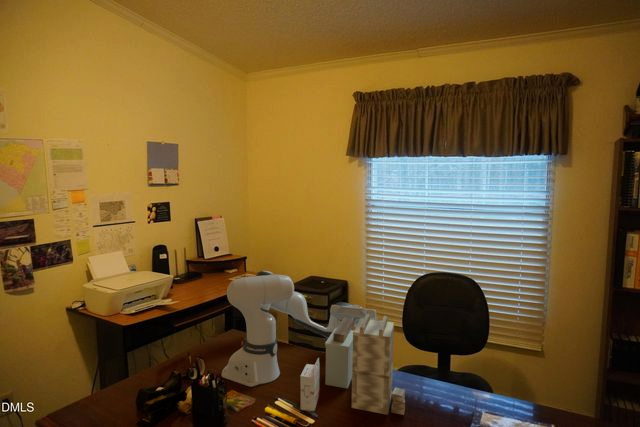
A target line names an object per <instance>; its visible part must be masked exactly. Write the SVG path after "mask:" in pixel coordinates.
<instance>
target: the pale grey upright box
mask: <svg viewBox="0 0 640 427" xmlns="http://www.w3.org/2000/svg"><path fill="white" fill-rule="evenodd" d="M336 329H337V328H335V329H334V331H333V332H332V334H331V335H330V337H329V338H327V340H326V341H325V343H324V346H325V380H324V381H325V383H324V384H325V385H326V386H331V387H332V386H333V387H336V388H337V387H338V388H342V389H349V386H350V384H351V382H352V360H353V331H354V330H355V329H354V330H352V329H351V331H350V333H349V334H348V336H347V338H346V340H345V341H344V343H342V342H335V341H333V333H334V332H335V330H336Z"/></svg>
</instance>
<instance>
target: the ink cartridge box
mask: <svg viewBox="0 0 640 427" xmlns="http://www.w3.org/2000/svg"><path fill="white" fill-rule="evenodd" d="M320 370H321V368H320V357H317V359H316V361H315V363H314V364H311V363H310V364H309V363H306V364H305V366H304V368H303V370H302V372H301V374H300V375H299V378H300V410H301V411H309V412H315V410H316V407H317V404H318V402H319V399H320Z"/></svg>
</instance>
